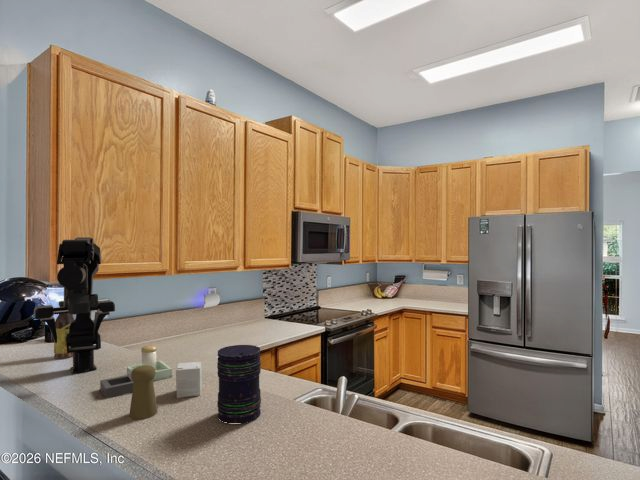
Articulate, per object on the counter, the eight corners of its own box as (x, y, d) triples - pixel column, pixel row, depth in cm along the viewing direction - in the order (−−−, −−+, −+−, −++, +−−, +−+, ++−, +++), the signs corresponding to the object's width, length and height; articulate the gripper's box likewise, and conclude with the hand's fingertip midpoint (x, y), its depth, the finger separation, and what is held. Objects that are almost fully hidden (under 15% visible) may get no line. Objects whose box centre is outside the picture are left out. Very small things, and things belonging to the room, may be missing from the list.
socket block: (100, 389, 106) (100, 380, 106) (131, 382, 111) (131, 374, 111) (105, 398, 99) (105, 388, 99) (139, 390, 104) (139, 381, 104)
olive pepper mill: (129, 422, 86) (129, 372, 86) (128, 411, 91) (128, 365, 92) (158, 416, 89) (158, 368, 89) (156, 406, 94) (156, 361, 94)
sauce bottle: (67, 359, 134) (67, 302, 134) (49, 359, 134) (49, 302, 134) (79, 354, 141) (79, 299, 141) (62, 354, 141) (62, 299, 141)
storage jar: (214, 410, 92) (214, 347, 92) (255, 403, 96) (254, 342, 96) (221, 428, 83) (221, 358, 83) (266, 420, 86) (265, 353, 87)
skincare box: (201, 387, 107) (201, 360, 107) (200, 396, 101) (200, 367, 101) (178, 389, 105) (178, 362, 105) (175, 398, 99) (175, 369, 99)
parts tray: (126, 374, 118) (126, 366, 118) (160, 368, 124) (160, 360, 124) (136, 384, 109) (136, 375, 109) (172, 377, 115) (172, 368, 115)
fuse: (139, 373, 117) (139, 347, 117) (154, 370, 119) (154, 344, 119) (143, 377, 113) (143, 350, 114) (158, 374, 116) (158, 347, 116)
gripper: (36, 289, 96) (36, 352, 96) (119, 284, 108) (119, 340, 108) (34, 285, 105) (33, 343, 105) (110, 281, 117) (110, 333, 116)
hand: (75, 339), depth 108 cm, fingers open, 9 cm apart
